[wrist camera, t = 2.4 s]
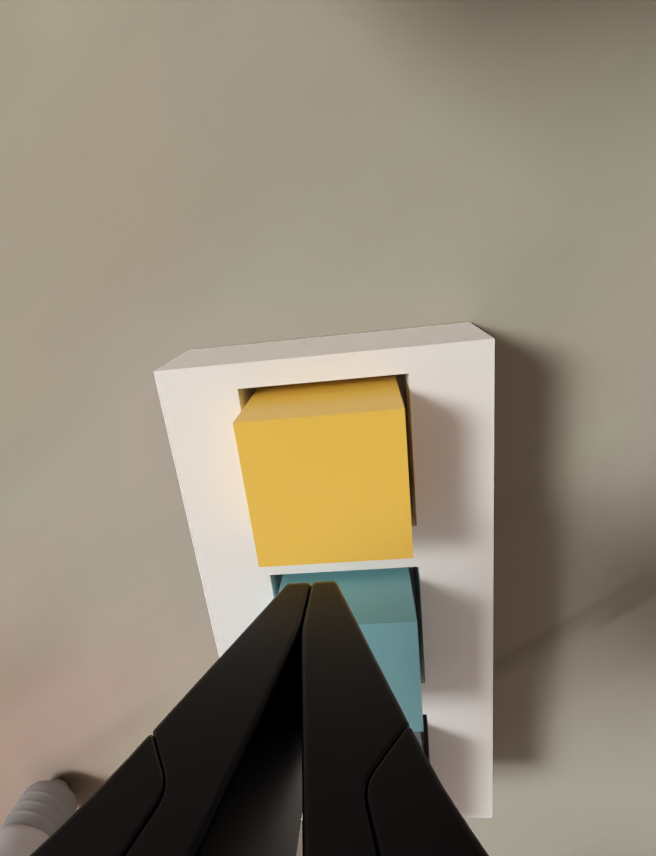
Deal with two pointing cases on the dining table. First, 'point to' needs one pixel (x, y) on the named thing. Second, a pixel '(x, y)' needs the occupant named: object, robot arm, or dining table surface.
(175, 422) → the button panel
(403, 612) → the teal button
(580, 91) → the dining table surface
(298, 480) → the amber button
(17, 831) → the lightbulb
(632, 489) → the dining table surface
